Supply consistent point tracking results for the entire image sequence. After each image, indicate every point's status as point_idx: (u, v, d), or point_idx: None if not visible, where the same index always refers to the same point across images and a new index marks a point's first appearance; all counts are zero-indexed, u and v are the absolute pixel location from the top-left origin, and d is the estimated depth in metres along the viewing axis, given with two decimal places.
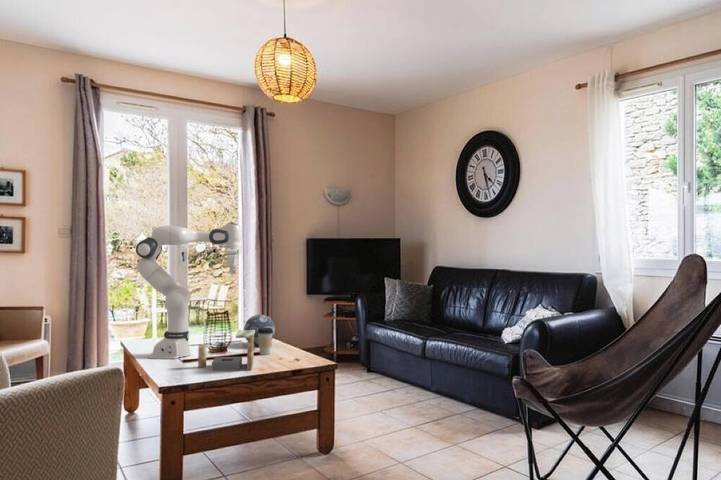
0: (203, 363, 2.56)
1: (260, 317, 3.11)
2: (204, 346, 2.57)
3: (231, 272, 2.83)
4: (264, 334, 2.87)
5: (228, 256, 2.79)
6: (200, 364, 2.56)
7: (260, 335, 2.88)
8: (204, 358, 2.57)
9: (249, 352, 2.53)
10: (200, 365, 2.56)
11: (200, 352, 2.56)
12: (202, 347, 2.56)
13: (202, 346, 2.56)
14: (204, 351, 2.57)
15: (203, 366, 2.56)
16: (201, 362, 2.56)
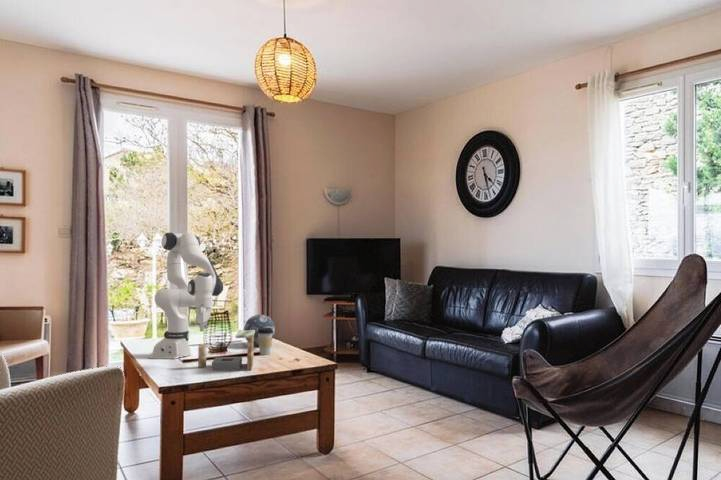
0: (203, 363, 2.56)
1: (260, 317, 3.11)
2: (204, 346, 2.57)
3: None
4: (264, 334, 2.87)
5: None
6: (200, 364, 2.56)
7: (260, 335, 2.88)
8: (204, 358, 2.57)
9: (249, 352, 2.53)
10: (200, 365, 2.56)
11: (200, 352, 2.56)
12: (202, 347, 2.56)
13: (202, 346, 2.56)
14: (204, 351, 2.57)
15: (203, 366, 2.56)
16: (201, 362, 2.56)
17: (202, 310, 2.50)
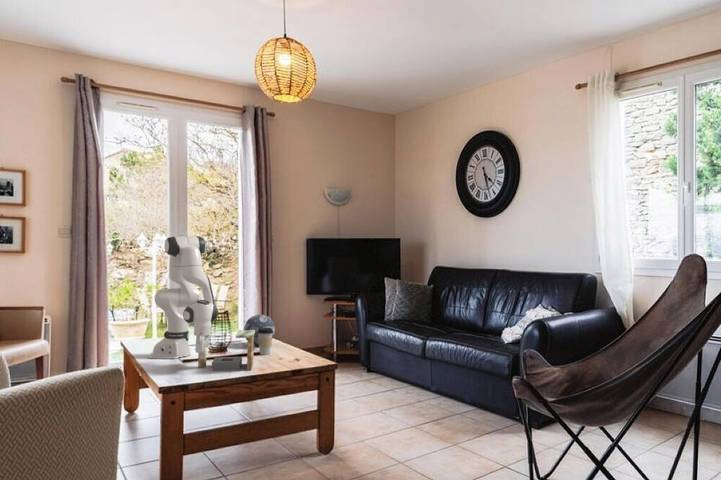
0: (203, 363, 2.56)
1: (260, 317, 3.11)
2: None
3: None
4: (264, 334, 2.87)
5: None
6: (200, 364, 2.56)
7: (260, 335, 2.88)
8: (204, 358, 2.57)
9: (249, 352, 2.53)
10: (200, 365, 2.56)
11: None
12: None
13: None
14: (204, 351, 2.57)
15: (203, 366, 2.56)
16: (201, 362, 2.56)
17: (201, 339, 2.49)
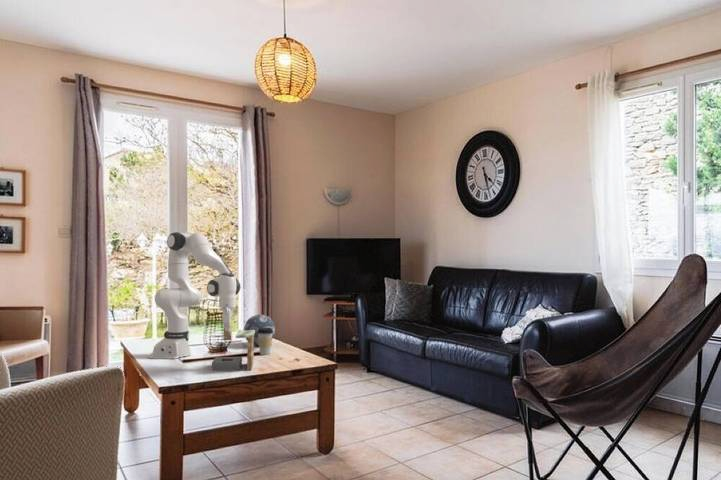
0: (228, 335, 2.57)
1: (260, 317, 3.11)
2: None
3: None
4: (264, 334, 2.87)
5: None
6: (225, 336, 2.57)
7: (260, 335, 2.88)
8: (229, 330, 2.57)
9: (249, 352, 2.53)
10: (225, 337, 2.57)
11: None
12: None
13: None
14: (229, 323, 2.57)
15: (228, 338, 2.57)
16: (226, 334, 2.57)
17: (228, 310, 2.50)
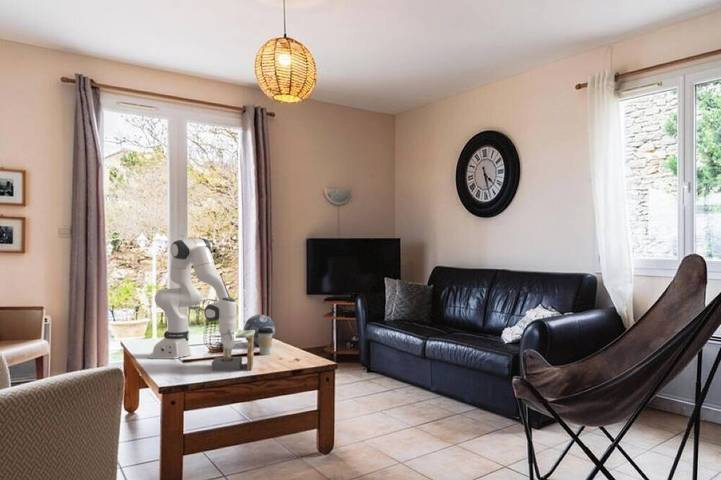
0: None
1: (260, 317, 3.11)
2: None
3: None
4: (264, 334, 2.87)
5: None
6: None
7: (260, 335, 2.88)
8: (230, 358, 2.58)
9: (249, 352, 2.53)
10: None
11: (226, 352, 2.57)
12: None
13: None
14: None
15: None
16: None
17: (232, 336, 2.51)
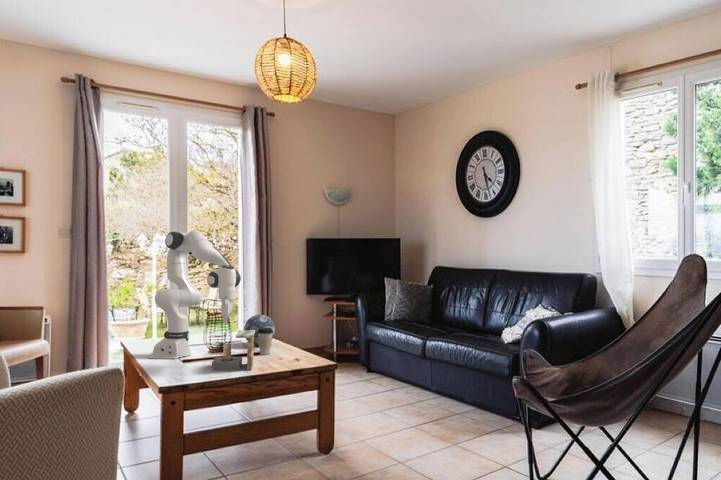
0: None
1: (260, 317, 3.11)
2: (230, 346, 2.58)
3: None
4: (264, 334, 2.87)
5: None
6: None
7: (260, 335, 2.88)
8: (230, 358, 2.58)
9: (249, 352, 2.53)
10: None
11: (226, 352, 2.57)
12: (229, 347, 2.57)
13: (228, 346, 2.57)
14: (230, 351, 2.58)
15: None
16: None
17: (226, 303, 2.53)
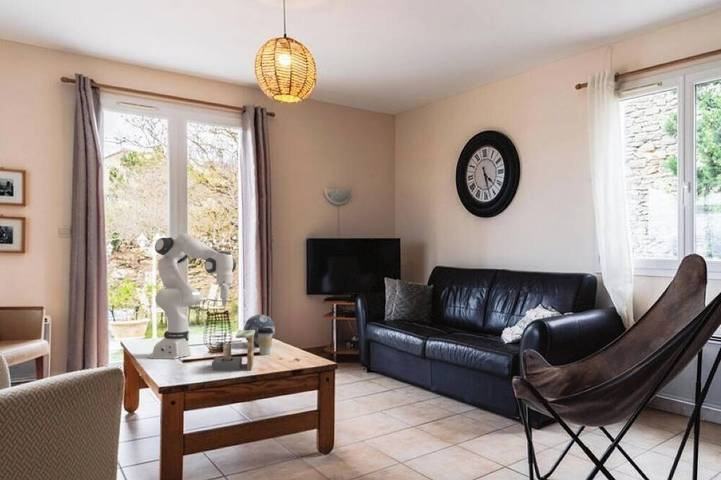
0: None
1: (260, 317, 3.11)
2: (230, 346, 2.58)
3: None
4: (264, 334, 2.87)
5: None
6: None
7: (260, 335, 2.88)
8: (230, 358, 2.58)
9: (249, 352, 2.53)
10: None
11: (226, 352, 2.57)
12: (229, 347, 2.57)
13: (228, 346, 2.57)
14: (230, 351, 2.58)
15: None
16: None
17: (225, 286, 2.64)
